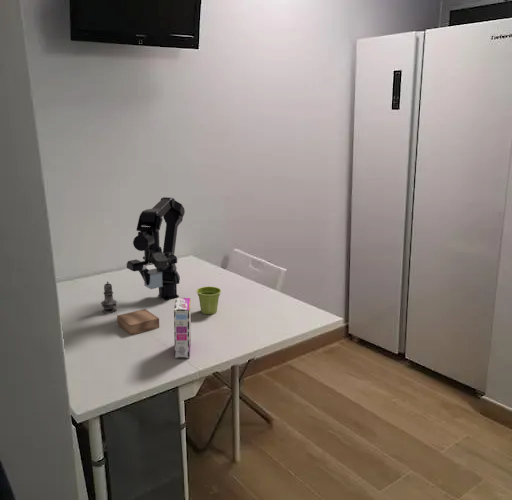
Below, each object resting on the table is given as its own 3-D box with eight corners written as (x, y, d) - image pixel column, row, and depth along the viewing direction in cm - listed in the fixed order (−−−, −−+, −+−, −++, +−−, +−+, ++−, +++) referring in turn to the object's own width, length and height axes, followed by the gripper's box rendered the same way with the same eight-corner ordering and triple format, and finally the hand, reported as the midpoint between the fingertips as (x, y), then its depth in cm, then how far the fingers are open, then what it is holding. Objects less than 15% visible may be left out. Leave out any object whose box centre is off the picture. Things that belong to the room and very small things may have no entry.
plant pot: (225, 309, 204) (225, 288, 202) (213, 318, 196) (213, 296, 194) (204, 305, 208) (204, 285, 206) (192, 313, 200) (191, 292, 197)
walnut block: (145, 318, 195) (145, 308, 194) (159, 328, 187) (159, 318, 186) (117, 325, 189) (117, 315, 188) (130, 336, 180) (130, 325, 179)
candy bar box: (190, 358, 164) (189, 309, 159) (174, 359, 163) (173, 310, 159) (191, 343, 175) (190, 297, 170) (176, 343, 174) (175, 297, 170)
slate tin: (156, 283, 203) (155, 268, 202) (162, 286, 199) (162, 271, 198) (144, 285, 200) (143, 270, 198) (150, 289, 196) (150, 274, 195)
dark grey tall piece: (113, 314, 198) (111, 284, 195) (98, 313, 199) (96, 283, 196) (120, 308, 203) (118, 279, 200) (106, 307, 205) (104, 278, 201)
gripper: (139, 252, 184) (141, 294, 188) (184, 244, 195) (185, 284, 199) (124, 246, 192) (127, 286, 196) (169, 239, 203) (170, 277, 207)
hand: (153, 283), depth 199 cm, fingers closed on slate tin, 5 cm apart
